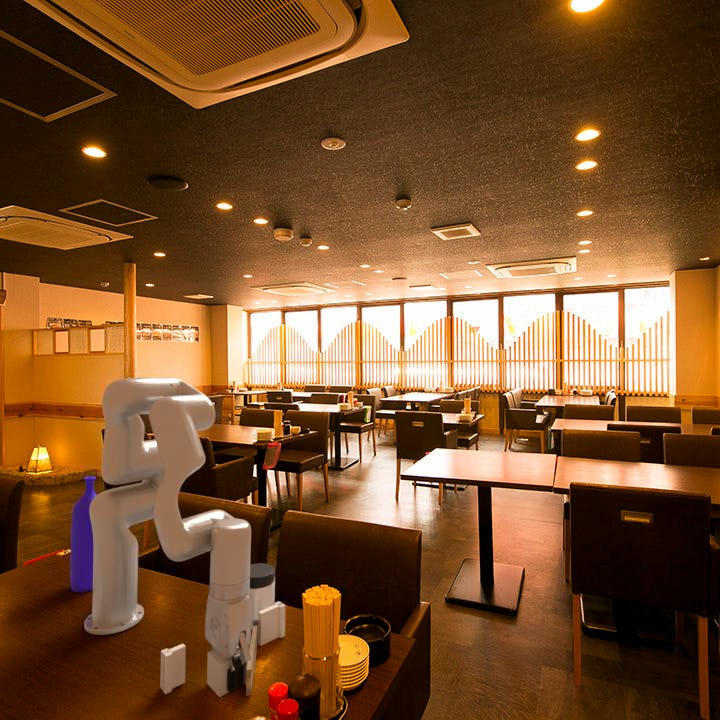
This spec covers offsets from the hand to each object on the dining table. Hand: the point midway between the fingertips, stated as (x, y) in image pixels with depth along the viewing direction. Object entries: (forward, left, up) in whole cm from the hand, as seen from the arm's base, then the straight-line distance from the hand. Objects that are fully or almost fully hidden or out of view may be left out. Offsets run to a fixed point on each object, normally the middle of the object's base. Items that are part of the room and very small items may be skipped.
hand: (227, 678), depth 88 cm
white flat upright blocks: (-6, +3, -1) cm, 7 cm away
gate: (0, +6, -1) cm, 6 cm away
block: (0, 0, -1) cm, 1 cm away
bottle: (-62, -9, -1) cm, 63 cm away
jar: (-15, +16, -1) cm, 22 cm away
